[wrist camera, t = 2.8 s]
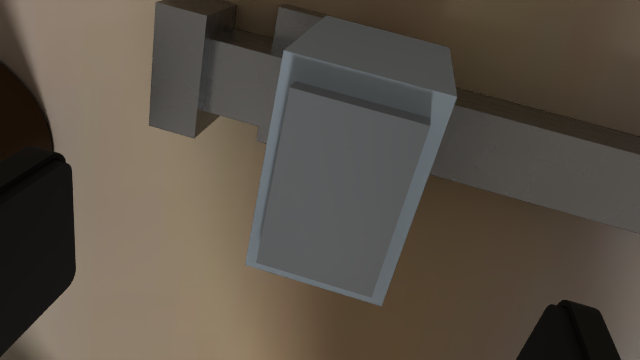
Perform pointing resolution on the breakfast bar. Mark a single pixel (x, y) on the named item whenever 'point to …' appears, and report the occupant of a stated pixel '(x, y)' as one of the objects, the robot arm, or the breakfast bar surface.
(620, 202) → the guide rail
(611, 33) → the breakfast bar surface
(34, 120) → the olive oil
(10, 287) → the robot arm
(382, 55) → the carriage
